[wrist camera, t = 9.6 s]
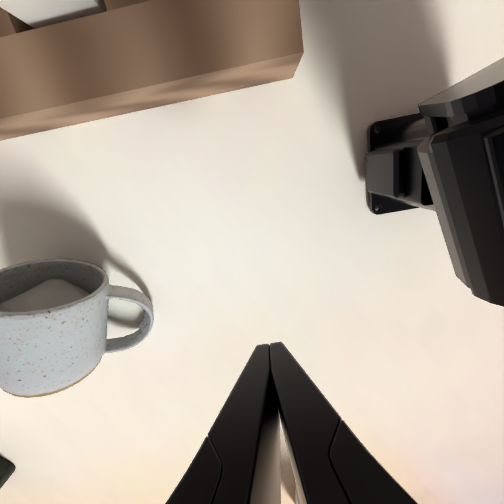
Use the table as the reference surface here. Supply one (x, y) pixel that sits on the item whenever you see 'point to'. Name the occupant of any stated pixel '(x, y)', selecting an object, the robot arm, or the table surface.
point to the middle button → (51, 10)
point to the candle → (5, 470)
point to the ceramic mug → (58, 324)
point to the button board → (140, 58)
